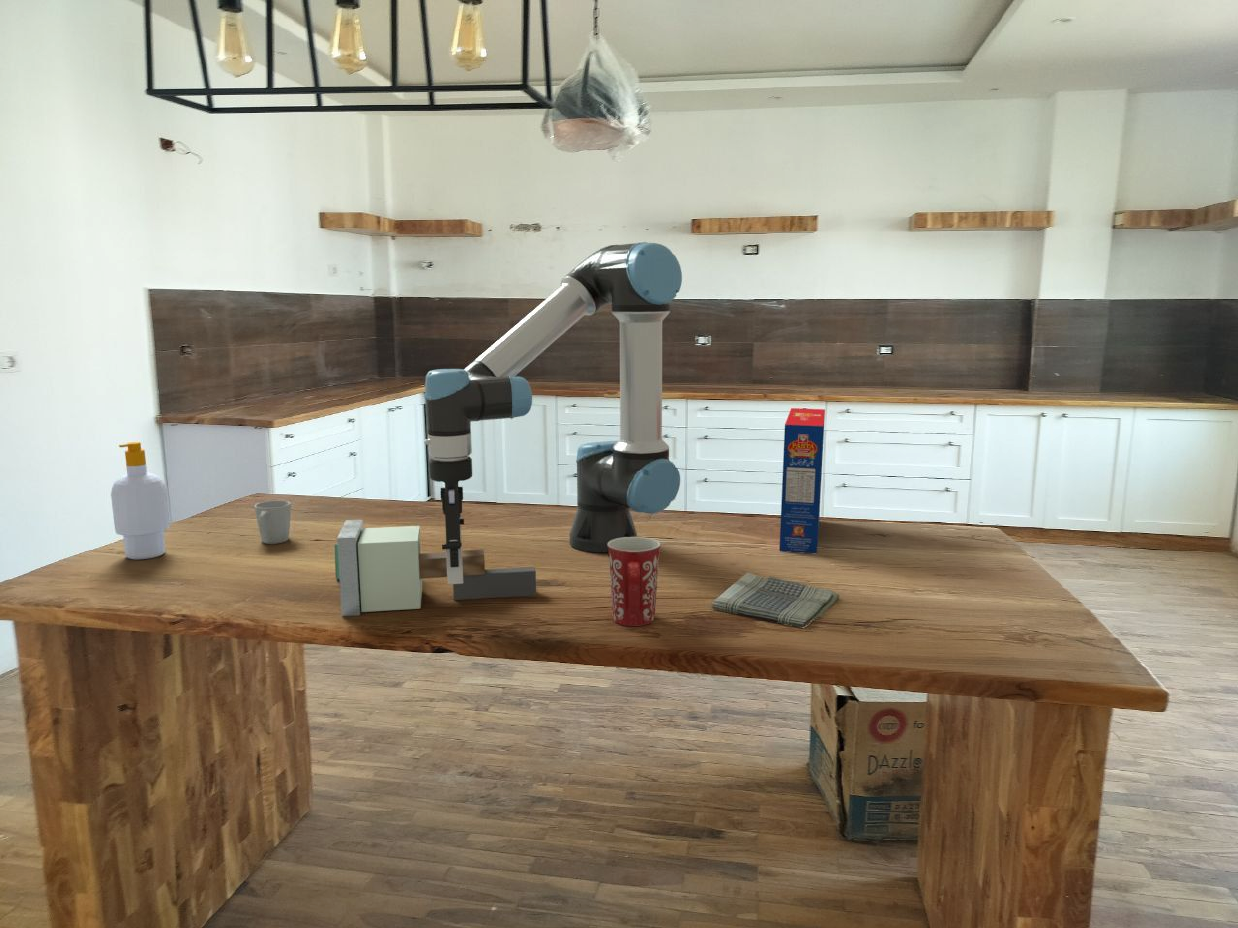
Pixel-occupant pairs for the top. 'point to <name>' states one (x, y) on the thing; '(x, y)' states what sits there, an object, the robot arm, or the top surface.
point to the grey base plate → (349, 567)
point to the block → (390, 568)
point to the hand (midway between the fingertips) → (455, 571)
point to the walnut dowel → (437, 566)
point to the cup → (273, 520)
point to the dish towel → (775, 600)
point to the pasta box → (802, 480)
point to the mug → (633, 579)
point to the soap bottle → (140, 507)
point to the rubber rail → (497, 584)
